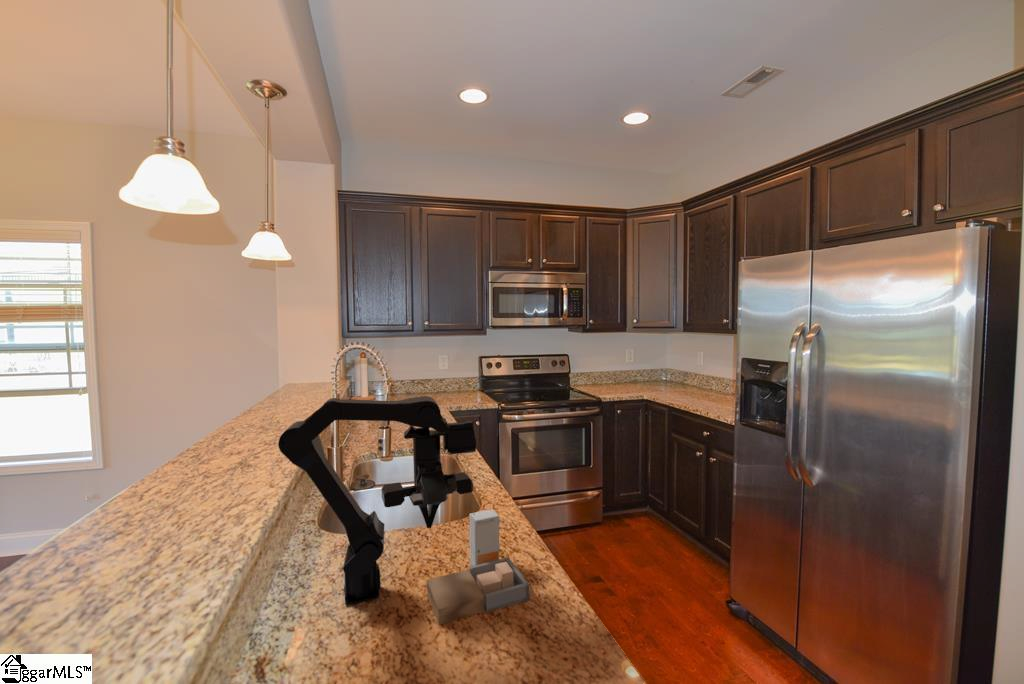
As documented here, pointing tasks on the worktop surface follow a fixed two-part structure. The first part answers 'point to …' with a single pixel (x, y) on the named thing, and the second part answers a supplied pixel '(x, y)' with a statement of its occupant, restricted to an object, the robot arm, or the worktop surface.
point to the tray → (505, 595)
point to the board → (454, 596)
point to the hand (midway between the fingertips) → (428, 527)
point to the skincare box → (484, 537)
